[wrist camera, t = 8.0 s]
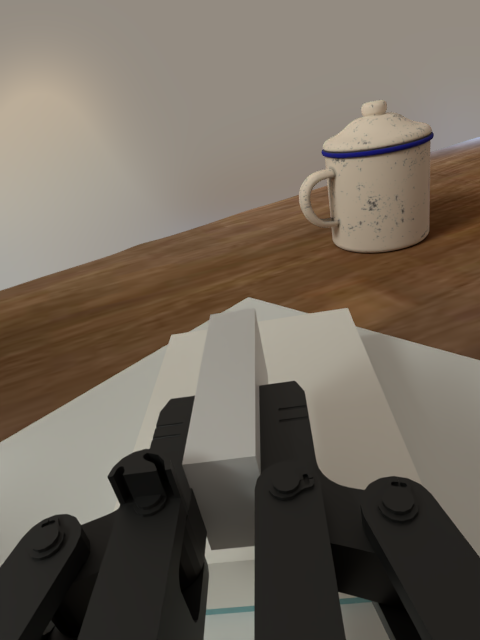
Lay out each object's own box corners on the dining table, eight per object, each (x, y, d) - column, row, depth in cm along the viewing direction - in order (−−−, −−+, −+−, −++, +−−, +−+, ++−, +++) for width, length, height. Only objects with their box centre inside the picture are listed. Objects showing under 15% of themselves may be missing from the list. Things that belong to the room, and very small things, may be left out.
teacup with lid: (392, 215, 46) (389, 93, 41) (455, 235, 38) (460, 87, 33) (288, 246, 44) (270, 121, 39) (331, 274, 36) (316, 121, 31)
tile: (446, 541, 12) (347, 307, 24) (92, 574, 13) (171, 335, 25) (443, 596, 13) (350, 346, 25) (118, 622, 14) (182, 370, 26)
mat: (-81, 501, 22) (-87, 493, 21) (249, 304, 34) (248, 297, 34) (291, 1672, 5) (283, 1703, 4) (674, 426, 17) (679, 415, 17)
